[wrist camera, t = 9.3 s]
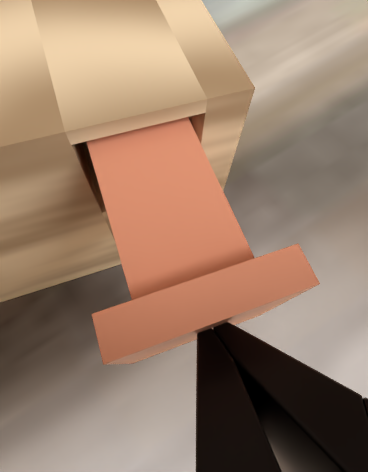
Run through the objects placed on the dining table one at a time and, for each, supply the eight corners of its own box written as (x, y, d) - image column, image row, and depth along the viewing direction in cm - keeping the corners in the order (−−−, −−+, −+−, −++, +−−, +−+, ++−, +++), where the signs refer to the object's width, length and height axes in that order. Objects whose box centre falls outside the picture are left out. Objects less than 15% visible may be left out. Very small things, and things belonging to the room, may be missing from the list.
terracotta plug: (259, 315, 11) (319, 284, 6) (132, 363, 10) (103, 364, 6) (159, 90, 15) (154, -22, 11) (65, 110, 14) (18, -2, 10)
